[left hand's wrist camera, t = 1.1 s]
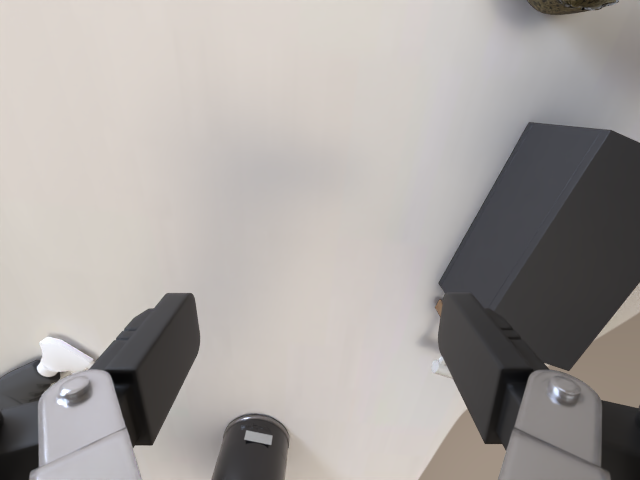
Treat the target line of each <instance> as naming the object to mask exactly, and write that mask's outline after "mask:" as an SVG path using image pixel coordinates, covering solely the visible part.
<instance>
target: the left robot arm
mask: <svg viewBox="0 0 640 480" xmlns="http://www.w3.org/2000/svg"><path fill="white" fill-rule="evenodd" d="M438 344H439V349H440V353H441V355H442V357H443V359H444V361H445V363H446V365H447V367H448V369H449V371H450V374H451V376H452V378H453V380H454V382H455V384H456V386H457V388H458V390H459V392H460V394H461V396H462V398H463V400H464V402H465V404H466V406H467V408H468V410H469V412H470V414H471V416H472V418H473V421H474V422H475V425H476V427H477V429H478V431H479V433H480V435H481V437H482V439H483V441H484V443H485V444H503V446H504V448H505V450H506V454H505V457H504V461H503V464H502V468H501V471H500V474H499V478H498V480H640V406H639V408H634V407H630V406H625V405H620V404H616V403H612V402H607V401H603V400H601V399H600V397H599V396H598V394H597V393H596V392H595V391H594V390H593V389H592V388H591V387H590V386H588V385H587V384H586V383H584V382H583V381H581V380H579V379H577V378H575V377H573V376H571V375H569V374H566V373H563V372H560V371H555V370H549V369H548V367H547V366H546V365H545V364H544V363H543V362H542V361H541V359H540V358H539V357H538V356H537V355H536V354H535V353H534V351H533V350H532V349H531V348H530V347H529V346H528V344H527V343H526V342H525V341H524V340H521V336H520V335H519V334H518V333H517V332H516V331H515V330H513V327H512V326H511V325H510V324H509V323H508V322H507V320H506V319H505V318H504V317H502V316H501V315H499V314H498V313H496V312H494V311H493V310H491V309H490V308H484V307H483V306H482V305H481V304H480V303H479V301H478V300H477V299H476V298H475V296H474V295H473V294H472V293H446V294H445V295H444V298H443V304H442V311H441V318H440V325H439V332H438ZM199 346H200V331H199V324H198V317H197V310H196V303H195V298H194V295H193V294H192V293H167V294H166V295H165V296H164V297H163V298H162V299H161V301H160V302H159V303H158V304H157V305H156V307H155V308H154V309H148V310H146V311H144V312H143V313H141V314H140V315H138V316H136V317H135V318H134V319H133V320H132V321H131V322H130V323H129V324H128V325H127V326H126V328H125V329H124V331H122V332H121V333H120V334H119V336H118V337H117V338H116V340H114V341H113V342H112V343H111V345H110V346H109V347H108V348H107V349H106V350H105V351H104V353H103V354H102V355H101V356H100V357H99V358H98V359H97V361H96V362H95V363H94V364H93V365H92V366H91V367H90V368H89V370H85V371H80V372H77V373H74V374H71V375H69V376H67V377H65V378H63V379H61V380H59V381H57V382H56V383H54V384H53V385H52V386H50V387H49V388H48V389H47V390H46V391H45V392H44V393H43V394H42V396H41V397H40V399H39V401H35V402H31V403H26V404H22V405H17V406H13V407H8V408H4V409H0V480H142V478H141V474H140V471H139V468H138V464H137V461H136V457H135V454H134V451H133V448H134V446H135V445H153V443H154V441H155V439H156V437H157V435H158V433H159V431H160V429H161V427H162V425H163V423H164V421H165V419H166V417H167V415H168V413H169V411H170V409H171V407H172V405H173V403H174V401H175V399H176V397H177V395H178V392H179V390H180V388H181V386H182V384H183V382H184V380H185V378H186V376H187V374H188V372H189V370H190V368H191V366H192V364H193V362H194V360H195V358H196V356H197V354H198V351H199ZM288 447H289V435H288V432H287V430H286V429H285V428H284V426H283V425H282V424H281V423H279V422H278V421H276V420H274V419H272V418H270V417H267V416H263V415H246V416H242V417H239V418H237V419H235V420H234V421H232V422H231V423H230V424H229V425H228V426H227V428H226V430H225V433H224V436H223V442H222V446H221V449H220V452H219V456H218V459H217V462H216V466H215V469H214V473H213V476H212V479H211V480H285V472H286V462H287V451H288Z"/></svg>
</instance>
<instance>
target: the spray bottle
mask: <svg viewBox="0 0 640 480" xmlns="http://www.w3.org/2000/svg"><path fill="white" fill-rule="evenodd" d="M39 344H40V346H41V349H42V358H41V360H36V361H34V362H31V363H29V364H27V365H25V366H22V367H20V368H18V369H16V370H14V371H11V372H9V373H8V374H6V375H5V376H3V377H1V378H0V409H4V408H8V407H13V406H17V405H22V404H26V403H31V402H35V401H39V399H40V397H41V396H42V394H43V393H44V390H47V389H48V388H49V387H50V385H51V383H54V382H57V381H58V380H59V379H60V372H63V371H70V372H71V374H74V373H77V372H80V371H84V370H85V369H86V368H87V369H89V368H90V367H91V366H92V365H93V364H94V363H95V362H94V361H93V358H91V357H89V356H88V355H86V354H84V353H83V352H81V351H79V350H78V349H76V348H74V347H73V346H71V345H69V344H68V343H66V342H64V341H63V340H61V339H57V338H52V337H46V338H45V339H44V340H42V341H41V342H40V343H39Z"/></svg>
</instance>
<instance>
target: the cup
mask: <svg viewBox="0 0 640 480" xmlns="http://www.w3.org/2000/svg"><path fill="white" fill-rule="evenodd" d="M527 1H528V2H529V3H530V5H531V6H532V7H534V8H535V9H536V10H538V11H540V12H542V13H545V14H551V15H564V14H572V13H578V12H584V11H589V10H599V9H601V8H602V7H605V6H610V5H613V4H616V3H618V2H619V0H527Z"/></svg>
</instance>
